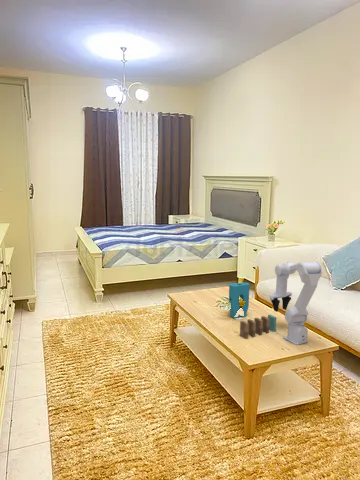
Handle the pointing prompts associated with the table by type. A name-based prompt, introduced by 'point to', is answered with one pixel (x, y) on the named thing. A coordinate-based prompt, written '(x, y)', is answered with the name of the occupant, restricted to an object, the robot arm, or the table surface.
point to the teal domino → (272, 323)
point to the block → (234, 294)
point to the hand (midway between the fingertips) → (280, 310)
